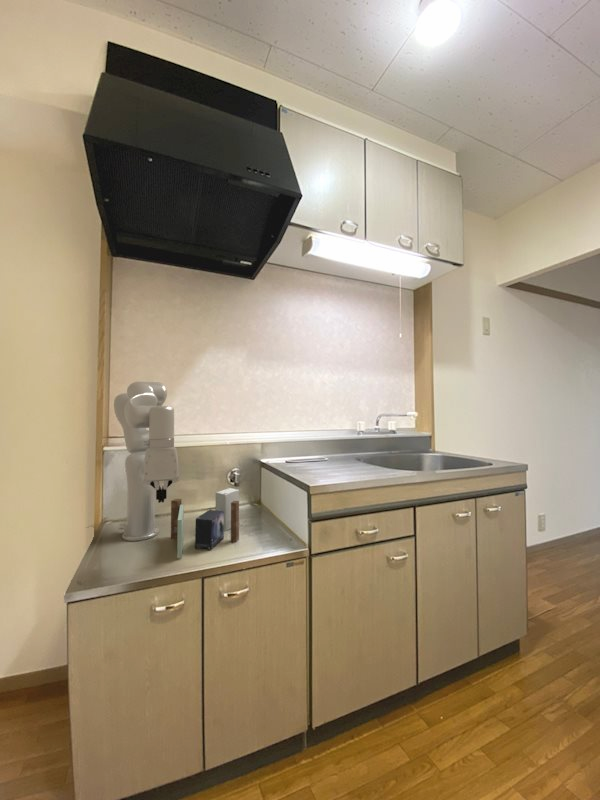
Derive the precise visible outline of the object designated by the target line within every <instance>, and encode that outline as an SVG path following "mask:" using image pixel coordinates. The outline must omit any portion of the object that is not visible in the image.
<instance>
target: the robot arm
mask: <svg viewBox="0 0 600 800" xmlns="http://www.w3.org/2000/svg"><path fill="white" fill-rule="evenodd" d="M167 397H168V391H167V388H166V386H165V384H164V383H161V382H156V381H155V382H154V381H134V382H132V383H130V384H129V385H128V387H127V389H126V392H125V393H119V394H118V395H116V396H115V397H114V401H113V409H114V414H115V417H116V418H117V421H118V423H119V424H120V426H121V428H122V430H123V437H124V442H125V447H126V450H127V452H128V453H129V455H126V456H127V457H126V458H125V462H124V465H125V472H126V473H125V474H126V482H127V483H126V484H127V486H126V487H127V507H126V511H127V513H126V514H127V515H126V521H127V522H123V521H122V522H119V526H118V530H123V531H124V532H123V533H122V535H121V537H122V539H123V541H129V542H131V541H132V542H137V541H142V540H148V539H151V538H154V537H155V536H157V535H158V534H159V533H160V532H159V531H160V529H159V527H157V526H155V525H156V523H155V522H156V521H155V519H156V514H155V513H156V512H155V511H156V506H155V505H156V503H155V502H156V500H158V504H159V503H165V500H167V498H168V497H167V489H168V488H169V487H170V486H171V484H175V483H178V482H180V478H179V456H178V449H177V447H175V409H174V408H173V407H172V406H170V405H164V403H165V402H166V399H167ZM160 481H163V486H162V488H161V486H160Z"/></svg>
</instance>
